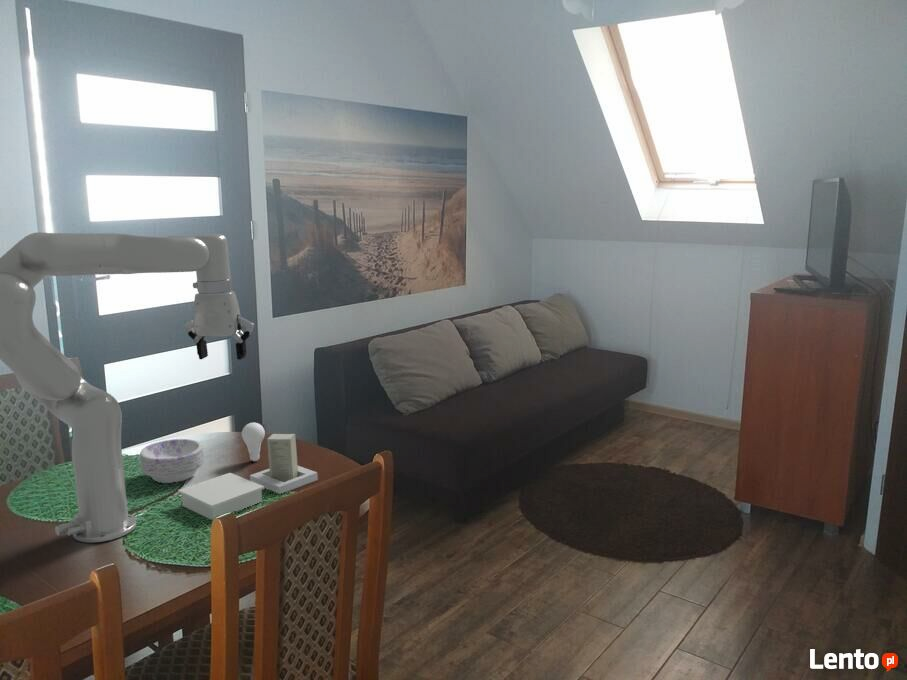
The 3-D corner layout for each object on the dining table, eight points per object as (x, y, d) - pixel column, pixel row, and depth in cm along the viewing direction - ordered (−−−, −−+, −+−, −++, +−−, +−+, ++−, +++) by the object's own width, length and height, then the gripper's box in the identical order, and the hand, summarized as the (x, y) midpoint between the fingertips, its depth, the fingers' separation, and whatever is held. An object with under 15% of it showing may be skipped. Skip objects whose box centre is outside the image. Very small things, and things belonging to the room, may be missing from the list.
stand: (213, 522, 161) (211, 505, 160) (179, 505, 170) (178, 489, 169) (265, 502, 172) (264, 486, 171) (230, 487, 180) (230, 472, 179)
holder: (279, 494, 176) (279, 486, 176) (250, 482, 183) (249, 475, 183) (317, 479, 185) (317, 472, 185) (288, 469, 193) (287, 462, 192)
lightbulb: (255, 455, 203) (253, 418, 200) (271, 459, 200) (268, 421, 197) (238, 462, 197) (236, 424, 195) (254, 466, 194) (252, 427, 192)
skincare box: (298, 478, 186) (296, 433, 184) (293, 485, 182) (291, 439, 179) (275, 477, 187) (272, 432, 184) (269, 484, 182) (266, 438, 180)
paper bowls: (163, 493, 177) (160, 462, 176) (130, 479, 186) (128, 449, 185) (216, 474, 189) (214, 445, 188) (183, 462, 198) (181, 434, 197)
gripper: (172, 290, 166) (180, 361, 170) (242, 289, 164) (249, 362, 167) (188, 285, 173) (196, 354, 177) (256, 284, 171) (263, 354, 175)
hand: (222, 358), depth 172 cm, fingers open, 9 cm apart
